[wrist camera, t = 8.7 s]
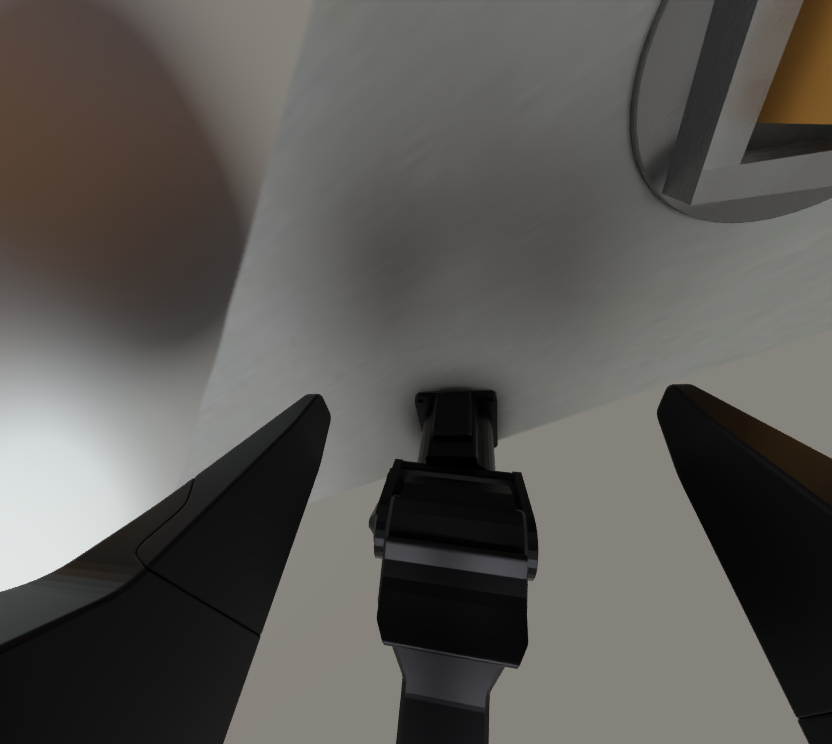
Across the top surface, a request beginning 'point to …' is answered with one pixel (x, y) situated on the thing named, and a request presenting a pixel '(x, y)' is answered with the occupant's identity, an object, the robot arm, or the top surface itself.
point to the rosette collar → (723, 114)
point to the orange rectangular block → (804, 71)
